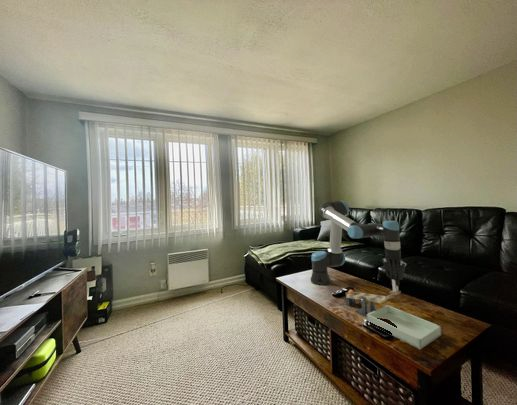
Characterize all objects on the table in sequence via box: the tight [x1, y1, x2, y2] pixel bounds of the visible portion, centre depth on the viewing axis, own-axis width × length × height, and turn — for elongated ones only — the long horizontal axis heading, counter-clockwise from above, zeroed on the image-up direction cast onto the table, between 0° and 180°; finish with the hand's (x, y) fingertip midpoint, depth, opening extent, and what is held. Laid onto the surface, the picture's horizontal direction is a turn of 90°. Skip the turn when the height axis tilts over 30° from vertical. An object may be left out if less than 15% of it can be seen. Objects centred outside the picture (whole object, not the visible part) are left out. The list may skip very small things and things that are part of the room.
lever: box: [345, 290, 402, 304], centre depth 120 cm, size 22×18×3 cm
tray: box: [365, 304, 442, 350], centre depth 100 cm, size 24×18×4 cm
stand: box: [345, 293, 377, 318], centre depth 119 cm, size 18×10×9 cm, turn 27°
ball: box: [347, 289, 355, 295], centre depth 125 cm, size 3×3×3 cm
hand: (395, 291), depth 115 cm, fingers closed
